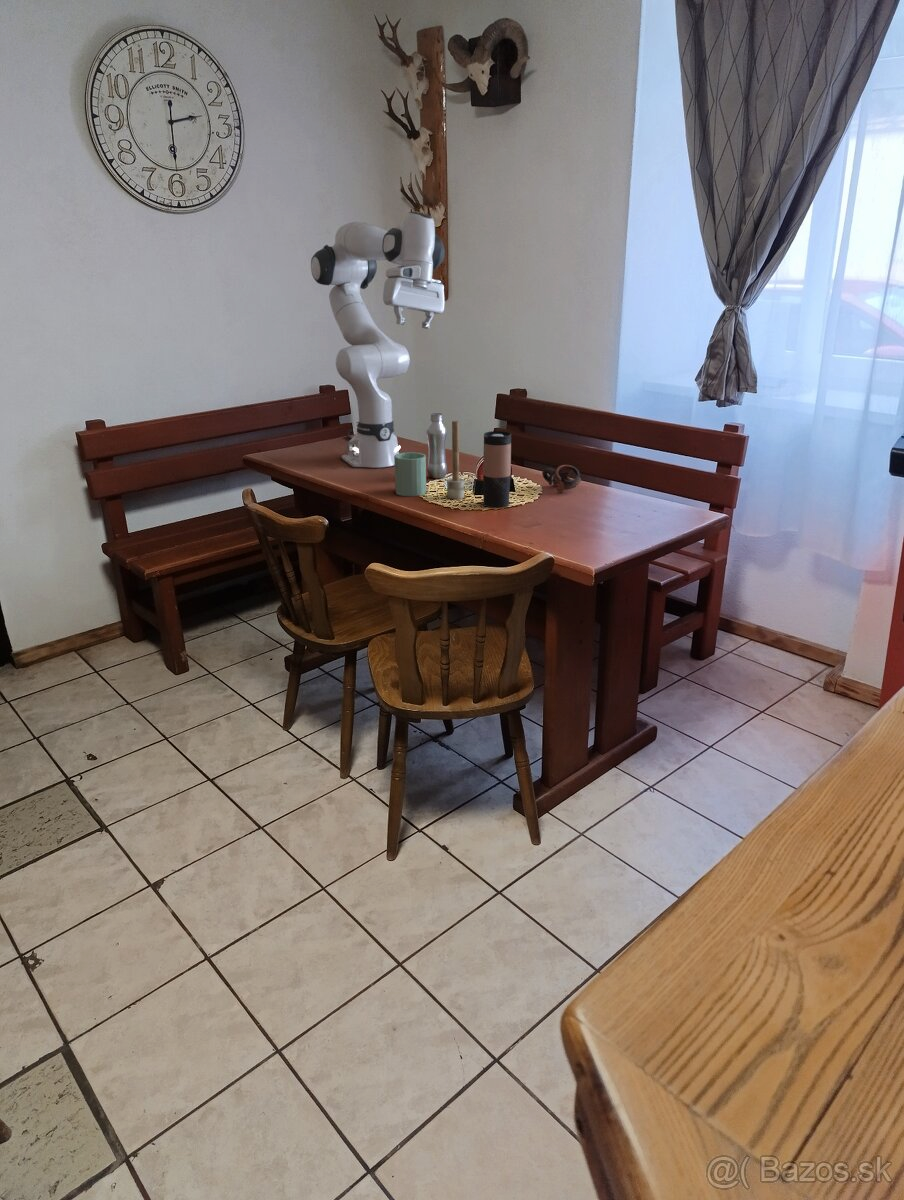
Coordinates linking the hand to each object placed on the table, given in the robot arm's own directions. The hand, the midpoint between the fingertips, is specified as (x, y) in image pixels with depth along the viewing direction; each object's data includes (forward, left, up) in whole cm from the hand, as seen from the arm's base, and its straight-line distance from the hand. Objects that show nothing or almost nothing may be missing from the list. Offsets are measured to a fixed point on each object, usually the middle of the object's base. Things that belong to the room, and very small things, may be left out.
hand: (413, 326), depth 231 cm
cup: (+5, -5, -47) cm, 47 cm away
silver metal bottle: (-5, +11, -47) cm, 48 cm away
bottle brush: (+17, +3, -47) cm, 50 cm away
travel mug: (+30, +8, -47) cm, 56 cm away
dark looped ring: (+28, +34, -47) cm, 64 cm away
